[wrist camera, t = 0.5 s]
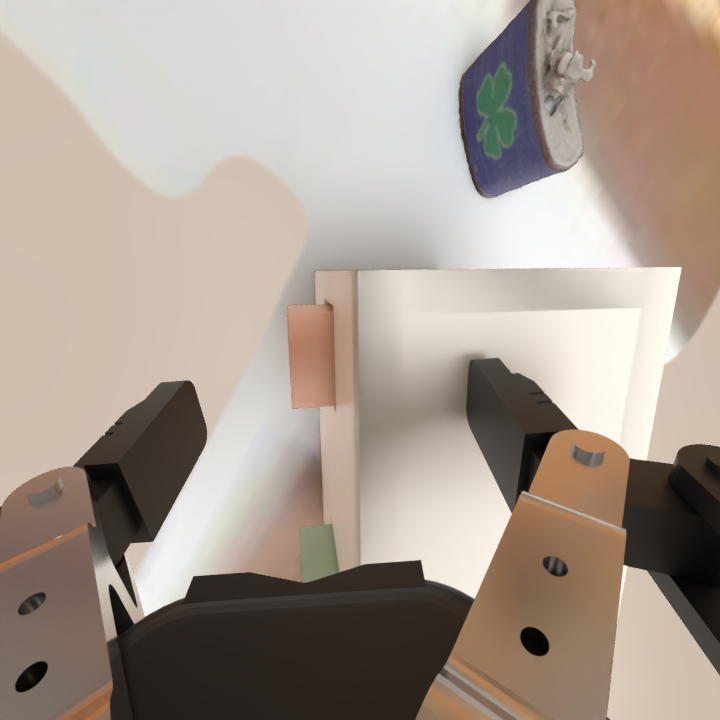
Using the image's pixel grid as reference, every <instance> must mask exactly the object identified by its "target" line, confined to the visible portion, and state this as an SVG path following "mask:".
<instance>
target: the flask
mask: <svg viewBox="0 0 720 720" xmlns="http://www.w3.org/2000/svg"><path fill="white" fill-rule="evenodd" d="M576 18H577V10H576V2H575V0H530V1H529V3H528V4H527V5H526V6H525V7H524V8H523V9H522V10H521V12H520V13H519V14H518V15H517V16H516V17H515V18H514V19H513V20H512V21H511V22H510V23H509V25H508V26H507V27H506V28H505V29H504V31H503V32H502V33H501V34H500V35H499V36H498V37H497V38H496V39H495V40H494V41H493V42H492V43H491V44H490V45H489V46H488V47H487V49H485V50H484V52H482V53H481V54H480V56H479V57H478V58H477V59H476V60H475V62H474V63H473V64H472V65H471V66H470V67H469V69H468V70H467V71H466V72H465V73H464V74H463V75H462V78H461V81H460V88H459V95H458V96H459V114H460V119H459V121H460V128H461V132H462V133H461V135H462V139H463V142H464V145H465V146H464V147H465V148H464V149H465V152H466V156H467V162H468V164H469V170H470V173H471V175H472V176H471V177H472V180H473V183H474V185H475V186H476V189H477V191H478V192H479V193H480V195H482V196H484V197H490V198H492V197H497V196H499V195H501V194H504V193H506V192H508V191H511V190H514V189H518V188H521V187H522V186H524V185H527V184H529V183H531V182H535V181H538V180H540V179H542V178H545V177H548V176H551V175H553V174H556V173H561V172H564V171H567V170H568V169H570V168H571V167H572V166H574V165H575V164H576V163H577V161H578V159H579V158H580V157H581V156H582V155H583V136H582V132H581V128H580V121H579V118H578V113H577V106H576V99H575V88H574V83H576V82H577V81H579V79H582V80H583V81H584V82H588V81H589V80H590V79H591V78H592V76H593V70H594V68H595V66H596V62H595V61H594V60H593V59H592V60H591V63H590V66H589V68H587V69H586V68H584V67H583V59H584V56H583V55H581V54H579V50H577V51H576V53H575V54H573V36H574V31H575V29H574V26H575V22H576Z"/></svg>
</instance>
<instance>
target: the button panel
mask: <svg viewBox="0 0 720 720" xmlns="http://www.w3.org/2000/svg"><path fill="white" fill-rule="evenodd" d="M680 273H681V267H660V268H546V269H433V270H344V271H315V295H316V304H331V305H333V313H334V353H335V392H336V406H326V407H320V435H321V463H322V491H323V519H324V525H325V524H332V528H333V534H334V541H335V547H336V553H337V560H338V566H339V572H342V571H345V570H348V569H351V568H354V567H357V566H360V565H364V564H373V563H387V562H401V561H415V560H421V563H422V568H423V573H424V578H425V579H426V580H431V581H436V582H439V583H442V584H445V585H448V586H451V587H453V588H455V589H457V590H460V591H462V592H464V593H465V594H467V595H469V596H471V597H472V598H474V599H475V597H476V595H477V593H478V590H479V588H480V586H481V583H482V581H483V579H484V577H485V574H486V572H487V570H488V567H489V565H490V563H491V560H492V558H493V556H494V554H495V551H496V549H497V547H498V544H499V542H500V540H501V538H502V535H503V533H504V531H505V528H506V526H507V524H508V521H509V519H510V517H511V515H512V513H511V511H510V509H509V507H508V505H507V503H506V501H505V499H504V497H503V495H502V493H501V491H500V489H499V487H498V485H497V483H496V481H495V479H494V476H493V474H492V472H491V470H490V468H489V466H488V464H487V462H486V460H485V458H484V456H483V454H482V452H481V450H480V448H479V446H478V444H477V442H476V440H475V437H474V435H473V433H472V431H471V429H470V427H469V424H468V420H467V413H466V402H467V385H468V369H469V363H470V361H471V360H473V359H486V358H499V359H500V360H501V361H502V362H503V363H504V365H505V366H506V367H507V368H508V369H509V371H510V372H511V373H520V374H522V375H523V376H525V377H527V378H529V379H531V380H533V381H535V383H536V384H537V385H538V386H539V387H540V388H541V389H542V390H543V391H544V394H547V396H548V397H549V398H550V399H551V400H552V403H555V404H556V405H557V406H558V407H559V409H560V410H561V411H562V412H563V413H564V414H565V415H566V416H567V417H568V418H569V419H570V420H571V422H572V423H573V424H574V425H575V426H576V427H577V428H578V429H579V430H585V431H590V432H594V433H597V434H600V435H603V436H605V437H607V438H609V439H611V440H613V441H615V442H616V443H618V444H619V445H620V446H621V447H622V448H623V449H624V450H625V451H626V452H627V454H628V456H629V458H632V459H637V460H645V461H646V460H647V454H648V449H649V443H650V438H651V433H652V427H653V421H654V416H655V410H656V405H657V400H658V394H659V388H660V383H661V377H662V372H663V366H664V361H665V356H666V350H667V344H668V339H669V333H670V328H671V322H672V317H673V311H674V306H675V300H676V295H677V289H678V284H679V278H680ZM626 570H627V566H625V565H623V572H622V581H621V591H620V600H619V609H620V603H621V598H622V592H623V587H624V581H625V576H626ZM619 609H618V614H619ZM617 620H618V618H617Z"/></svg>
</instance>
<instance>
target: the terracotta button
mask: <svg viewBox="0 0 720 720" xmlns="http://www.w3.org/2000/svg"><path fill="white" fill-rule="evenodd" d="M287 321H288V340H289V359H290V378H291V396H292V409H297V408H311V407H326V406H336V392H335V353H334V313H333V305H331V304H313V305H288V310H287Z"/></svg>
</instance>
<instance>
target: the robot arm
mask: <svg viewBox="0 0 720 720" xmlns="http://www.w3.org/2000/svg"><path fill="white" fill-rule="evenodd" d="M466 413H467V420H468V424H469V427H470V429H471V431H472V433H473V435H474V437H475V440H476V442H477V444H478V446H479V448H480V450H481V452H482V454H483V456H484V458H485V460H486V462H487V464H488V466H489V468H490V470H491V472H492V474H493V476H494V479H495V481H496V483H497V485H498V487H499V489H500V491H501V493H502V495H503V497H504V499H505V501H506V503H507V505H508V507H509V509H510V511H511V513H512V515H511V517H510V519H509V521H508V524H507V526H506V528H505V531H504V533H503V535H502V538H501V540H500V542H499V544H498V547H497V549H496V551H495V554H494V556H493V558H492V560H491V563H490V565H489V567H488V570H487V572H486V574H485V577H484V579H483V581H482V583H481V586H480V588H479V590H478V593H477V595H476V597H475V599H474V598H472V597H471V596H469V595H467V594H465V593H464V592H462V591H460V590H457V589H455V588H453V587H451V586H448V585H445V584H442V583H439V582H436V581H431V580H426V579H425V578H424V573H423V568H422V563H421V560H415V561H401V562H387V563H373V564H364V565H360V566H357V567H354V568H351V569H348V570H345V571H342V572H339V573H336V574H333V575H329V576H326V577H323V578H320V579H317V580H314V581H310V582H296V581H291V580H286V579H281V578H276V577H270V576H265V575H260V574H255V573H250V572H248V573H234V574H220V575H206V576H193V579H192V581H191V584H190V586H189V589H188V592H187V594H186V597H185V598H183V599H180V600H178V601H175V602H173V603H171V604H168V605H166V606H164V607H162V608H160V609H158V610H157V611H155V612H153V613H151V614H149V615H148V616H146V617H144V613H143V609H142V605H141V602H140V598H139V594H138V590H137V587H136V583H135V579H134V575H133V572H132V568H131V564H130V561H129V559H128V557H127V555H126V553H125V551H126V550H127V548H128V547H129V544H130V543H140V542H153V541H154V539H155V537H156V535H157V533H158V532H159V530H160V528H161V526H162V524H163V522H164V521H165V519H166V517H167V515H168V513H169V511H170V510H171V508H172V506H173V504H174V502H175V500H176V498H177V497H178V495H179V493H180V491H181V489H182V487H183V486H184V484H185V482H186V480H187V478H188V476H189V475H190V473H191V471H192V469H193V467H194V465H195V464H196V462H197V460H198V458H199V456H200V454H201V453H202V451H203V449H204V447H205V444H206V440H207V428H206V423H205V420H204V417H203V413H202V410H201V407H200V404H199V401H198V397H197V394H196V390H195V387H194V385H193V384H192V382H190V381H176V382H163V383H160V384H159V385H158V386H157V387H156V388H155V389H154V390H153V391H152V392H151V394H150V395H149V396H148V397H147V398H146V399H145V400H144V401H142V402H140V403H139V404H137V405H136V406H134V407H132V408H131V409H129V410H128V411H126V412H125V413H124V414H123V415H122V416H121V417H120V418H119V419H118V420H117V421H116V422H115V425H113V426H111V427H110V428H109V430H108V431H107V432H106V433H105V436H102V437H101V438H100V439H99V440H98V441H97V442H96V443H95V444H94V445H93V446H92V447H91V448H90V449H89V450H88V451H87V452H86V453H85V454H84V456H82V458H80V460H79V461H78V462H77V463H76V464H75V465H74V466H73V467H63V468H58V469H55V470H51V471H49V472H46V473H43V474H41V475H39V476H37V477H35V478H33V479H31V480H29V481H27V482H26V483H24V484H23V485H21V486H20V487H18V488H17V489H16V490H14V491H13V492H12V493H11V494H10V495H9V496H8V497H7V499H6V500H5V501H4V503H3V505H2V507H0V720H610V719H609V718H608V717H607V709H608V700H609V691H610V682H611V673H612V664H613V654H614V644H615V636H616V627H617V618H618V609H619V600H620V591H621V581H622V572H623V565H625V566H629V567H634V568H639V569H644V570H647V571H648V573H649V574H650V576H651V577H652V578H653V580H654V581H655V583H656V584H657V585H658V587H659V588H660V590H661V591H662V593H663V594H664V596H665V597H666V599H667V600H668V601H669V603H670V604H671V606H672V607H673V609H674V610H675V611H676V613H677V614H678V616H679V617H680V619H681V620H682V622H683V623H684V624H685V626H686V627H687V629H688V630H689V632H690V633H691V634H692V636H693V637H694V639H695V640H696V642H697V643H698V645H699V646H700V647H701V649H702V650H703V652H704V653H705V655H706V656H707V658H708V659H709V660H710V662H711V663H712V665H713V666H714V668H715V669H716V671H717V672H718V673H719V675H720V447H717V446H711V445H702V444H695V445H688V446H685V447H683V448H681V449H680V450H679V451H678V453H677V456H676V459H675V461H674V464H667V463H660V462H652V461H645V460H637V459H632V458H629V456H628V454H627V452H626V451H625V450H624V449H623V448H622V447H621V446H620V445H619V444H618V443H616V442H615V441H613V440H611V439H609V438H607V437H605V436H603V435H600V434H597V433H594V432H590V431H585V430H579V429H578V428H577V427H576V426H575V425H574V424H573V423H572V422H571V420H570V419H569V418H568V417H567V416H566V415H565V414H564V413H563V412H562V411H561V410H560V409H559V407H558V406H557V405H556V404H555V403H552V400H551V399H550V398H549V397H548V396H547V394H544V391H543V390H542V389H541V388H540V387H539V386H538V385H537V384H536V383H535V381H533V380H531V379H529V378H527V377H525V376H523V375H522V374H520V373H511V372H510V371H509V369H508V368H507V367H506V366H505V365H504V363H503V362H502V361H501V360H500V359H499V358H486V359H473V360H471V361H470V363H469V369H468V385H467V402H466Z"/></svg>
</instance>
